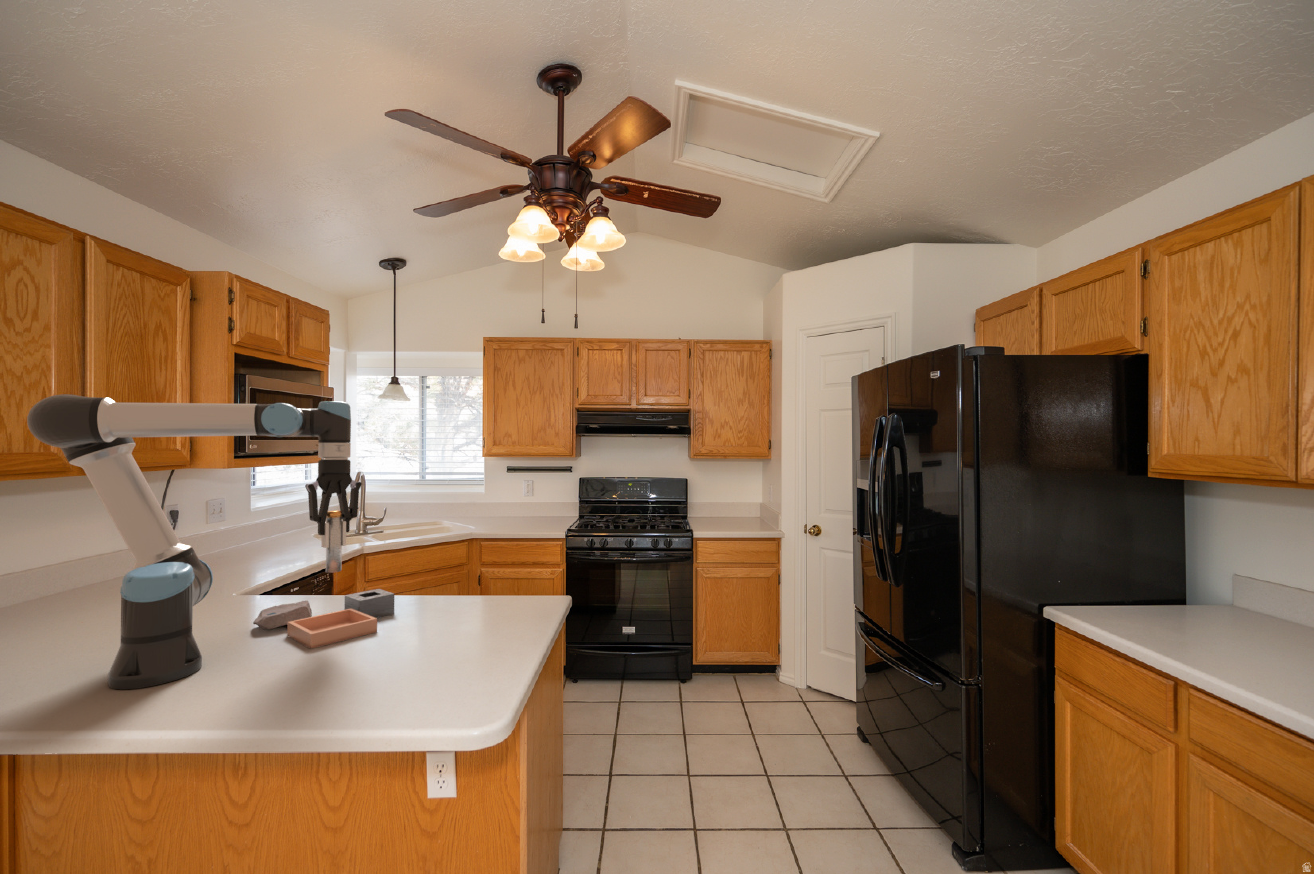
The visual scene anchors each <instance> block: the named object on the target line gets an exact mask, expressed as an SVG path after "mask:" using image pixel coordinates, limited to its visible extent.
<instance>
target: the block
mask: <svg viewBox="0 0 1314 874" xmlns="http://www.w3.org/2000/svg"><path fill="white" fill-rule="evenodd" d="M351 608H352V609H354V610H357V611H359V612H362V613H364V614H367V615H369V616H372V617H375V618H377V619H378V618H382V617H386V616H392V615H395V593H393V592H390V591H387V590H384V589H381V588H376V589H370V590H364V591H360V592H355V593H351V594H350V593H349V594H346V595H344V609H343V610H346V609H351Z"/></svg>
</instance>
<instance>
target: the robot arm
mask: <svg viewBox="0 0 1314 874" xmlns="http://www.w3.org/2000/svg"><path fill="white" fill-rule="evenodd" d="M26 419H27V420H26V424H27V427H28V429H29V431H30V433H31V434H32V435H33V437H35V438H36V439H37V440H38V441H40V442H41V443H43V444H45V445H48V446H51V447H55V448H60V451H62V453H63V455H64V458H66V460H67V462H68V463H69V464H70V465H72V466H75V467H80V468H82V470H83V471H84V473H85V475H86V476H87V478H88V480H89V482H90V483H91V486H92V487H93V489H94V491H95V492H96V494H97V496H98V497H99V499H100V501H101V502H102V504H103V506H104V508H105V510H106V512H107V513H108V515H109V517H110V518H111V520H112V522H113V524H114V526H115V528H116V529H117V531H118V532H119V534H120V536H121V538H122V539H123V541H124V543H125V545H126V546H127V548H128V550H129V552H130V554H131V555H132V557H133V559H134V561H135V563H134V564H133V567H132V568H131V570H129V571H128V572H126V574H125V575H124V576H123V578H122V582H121V586H120V596H121V597H120V598H121V599H120V645H119V648H118V651H117V653H116V655H115V658H114V660H113V662H112V665H111V667H110V670H109V672H108V675H107V686H108V687H109V688H111V689H113V690H135V689H142V688H147V687H149V688H150V687H154V686H158V685H162V684H163V685H164V684H166V683H170V682H174V681H178V680H180V679H183V678H185V677H188V676H190V675H192V674H194V673H196V672H198V671H200V669H201V668H202V666H203V663H202V662H203V656H202V653H201V651H200V648H199V646H198V644H197V642H196V639H195V636H194V635H193V634H194V633H193V613H194V612H193V611H194V609H193V607H194V606H196V605H197V604H199V603H200V602H201V601H202V600H203V599H204V598H205V597H206V596H207V595H208V593H209V591H210V590H211V588H212V585H213V581H214V574H213V570H212V568H211V567H210V566H209V564H208V563H207V562H205V561H204V560H202V559H200V558H199V557H198V554H197V552H195V550H194V548H193V546H192V545H189V544H184V543H182V542H181V541H180V539H179V537H178V536H177V534H176V532H175V530H174V528H173V527H172V525H171V522H170V521H169V519H168V518H167V516H166V514H165V512H164V510H163V509H162V506H161V505H160V503H159V501H158V499H157V498H156V495H155V493H154V492H153V490H152V489H151V487H150V485H149V483H148V481H147V480H146V478H145V476H144V474H143V472H142V470H141V469H140V466H139V465H138V463H137V461H136V460H135V458H134V455H133V454H132V453H133V451H134V450H135V447H136V446H137V445H136V442H135V440H134V439H133V438H166V437H167V438H171V437H172V438H173V437H175V438H176V437H177V438H178V437H182V438H183V437H231V436H233V437H237V436H238V437H239V436H243V437H244V436H245V437H247V436H249V437H250V436H267V437H276V438H283V437H285V438H287V437H288V438H291V437H292V438H294V437H295V438H298V437H305V438H307V437H308V438H309V437H312V438H315V437H317V438H318V441H317V442H318V450H317V451H318V453H317V454H318V455H317V457H318V459H319V458H320V460H318V461H317V465H318V466H317V474H318V475H317V478H316V480H315V481H314V482H311V483H306V484H305V489H306V491H307V494H308V509H309V510H308V513H309V514H308V515H309V521H312V522H316V523H317V534H318V536H321V548H324V549H326V548H329V523H326V518H327V513H328V511H329V507H330V502H331V498H332V497H333V494H336V496H337V499H338V505H339V511H342V546H347V533H349V532H350V530H351V529H350V527H351V526H350V524H351V521H352V519H354V518H355V519H356V518H357V517H358V510H359V495H360V489H361V486H362V485H363V484H362V482H361V481H357V480H353V478H352V476H351V460H350V459H349V458H350V457H351V444H352V443H351V437H352V433H351V431H352V430H351V429H352V416H351V406H350V404H349V403H348V402H345V401H332V400H331V401H327V400H324V401H320V402H319V403H318V406H317V408H302V407H301V408H300V407H299V408H298V407H296V406H295V405H293V404H290V403H288V402H287V403H286V402H275V403H212V402H211V403H209V402H207V403H205V402H202V403H198V402H196V403H193V402H189V403H188V402H116V401H115V400H113V399H112V398H111V397H95V396H94V397H93V396H92V397H91V396H82V395H77V394H68V393H67V394H65V393H63V394H55V395H51V396H47V397H45V398H43V399H41V400H39V401H38V402H36V403H35V404H34V405H33V406H32V407H31V408H30V409H29V411H28V414H27V416H26ZM349 486H350V493H349V494H350V495H349V503H348V498H347V488H348V487H349ZM318 487H319V488H320V490H322V491H321V499H320V500H321V501H320V504H319V505H320V506H318V491H317V490H318ZM348 504H349V505H348ZM318 507H319V508H318Z"/></svg>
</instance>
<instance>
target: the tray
mask: <svg viewBox="0 0 1314 874" xmlns="http://www.w3.org/2000/svg"><path fill="white" fill-rule="evenodd" d="M286 628H287V629H286V630H287V631H286V635H287V637H288V638H290V639H292V640H293V641H296V642H297V643H300V644H302V645H303V646H305V647H307V648H309V649H317V648H319V647H323V646H327V645H332V644H335V643H340V642H344V641H348V640H351V639H355V638H356V639H357V638H359V637H363V636H367V635H371V634H375V633H377V632H378V618H375V617H372V616H369V615H367V614H364V613H362V612H359V611H357V610H354V609H352V608H351V609H346V610H344V609H343V610H341V609H340V610H337V611H331V612H329V613H323V614H319V615H314V616H313V615H312V617H309V618H304V619H299V620H295V621H290V622H287V627H286Z"/></svg>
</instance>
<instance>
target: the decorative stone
mask: <svg viewBox="0 0 1314 874" xmlns="http://www.w3.org/2000/svg"><path fill="white" fill-rule="evenodd" d="M309 617H313V613H312V608H311V606H310V602H309V600H301V601H298V602H293V603H283V604H279V605H273V606H270V607H267V608H263V609H262V610H261V611H260V612H259V613H258V615H257V617H256V618H255V619H254V621H253V622H252V624H253V625H256V626H257V627H258V629H260V630H272V629H275V628H278V627H282V626H286V625H287V622H290V621H295V620H299V619H304V618H309Z"/></svg>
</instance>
